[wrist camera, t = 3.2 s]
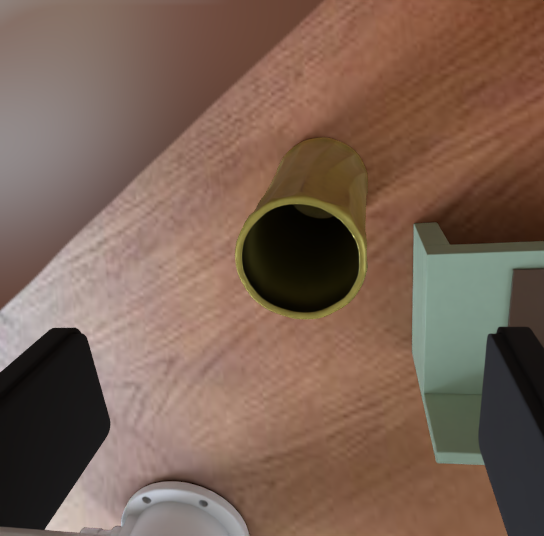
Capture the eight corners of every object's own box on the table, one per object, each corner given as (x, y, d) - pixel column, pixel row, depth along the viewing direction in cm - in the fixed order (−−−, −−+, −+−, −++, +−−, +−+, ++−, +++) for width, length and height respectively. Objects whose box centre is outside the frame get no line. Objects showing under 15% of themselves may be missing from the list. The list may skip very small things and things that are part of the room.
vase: (366, 228, 32) (376, 333, 19) (277, 227, 33) (228, 327, 20) (369, 135, 30) (383, 182, 17) (273, 138, 31) (216, 184, 18)
